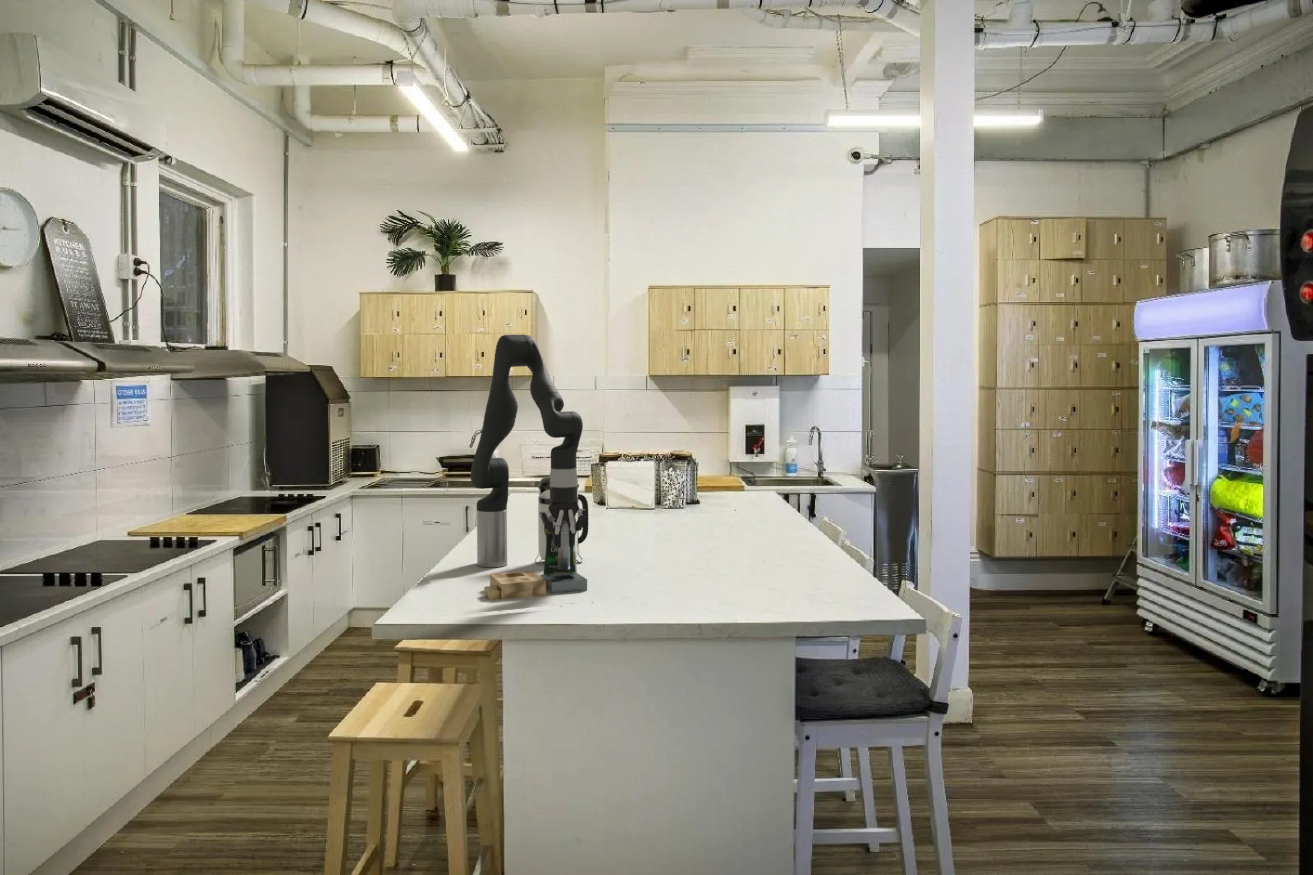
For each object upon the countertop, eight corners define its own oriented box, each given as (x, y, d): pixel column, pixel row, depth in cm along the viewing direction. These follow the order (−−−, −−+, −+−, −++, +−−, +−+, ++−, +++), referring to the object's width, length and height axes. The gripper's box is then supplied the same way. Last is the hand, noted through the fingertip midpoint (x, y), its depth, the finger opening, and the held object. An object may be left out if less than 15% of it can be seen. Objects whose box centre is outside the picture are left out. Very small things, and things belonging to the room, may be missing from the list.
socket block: (501, 602, 255) (501, 584, 255) (490, 592, 267) (489, 574, 267) (545, 598, 260) (545, 580, 260) (532, 588, 272) (532, 570, 272)
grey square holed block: (541, 589, 271) (541, 574, 271) (575, 586, 275) (575, 572, 275) (551, 597, 262) (551, 582, 262) (587, 593, 266) (587, 579, 265)
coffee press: (583, 568, 299) (583, 470, 296) (531, 567, 299) (531, 470, 297) (588, 556, 316) (588, 464, 314) (539, 556, 316) (539, 464, 314)
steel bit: (556, 568, 269) (556, 521, 268) (567, 567, 270) (567, 520, 269) (560, 570, 266) (560, 523, 265) (571, 569, 267) (571, 522, 266)
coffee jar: (542, 581, 281) (541, 517, 279) (545, 575, 289) (545, 513, 287) (575, 581, 281) (575, 517, 279) (578, 575, 288) (578, 513, 287)
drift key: (484, 599, 259) (484, 586, 259) (513, 596, 262) (513, 584, 262) (488, 603, 255) (488, 590, 254) (518, 600, 258) (518, 588, 257)
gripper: (583, 481, 272) (583, 542, 274) (534, 484, 267) (535, 546, 268) (592, 484, 265) (592, 547, 267) (542, 487, 260) (543, 551, 261)
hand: (563, 546), depth 267 cm, fingers closed on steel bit, 3 cm apart
